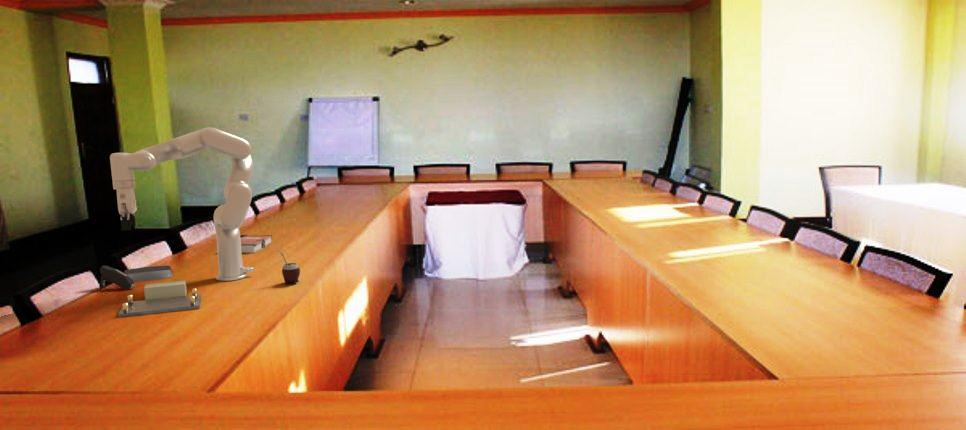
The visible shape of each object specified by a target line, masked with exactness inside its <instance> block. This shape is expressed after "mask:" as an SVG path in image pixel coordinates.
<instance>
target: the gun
mask: <svg viewBox="0 0 966 430" xmlns="http://www.w3.org/2000/svg"><path fill="white" fill-rule="evenodd" d="M99 273H100V274H101V275H100V280H99V281H100V283H99V284H100V287H101V288H102V289H105V288H106V282H108V283H110V284H112V283H113V284H114V285H116V286H117V287H120V288H121V289H123V290H126V291H127V290H132V289H134V288H135V287H136V285H135V282H134V281H133V280H132V279H131V278H130V277H128V276H127V275H126V274H124V272H122V271H121V270H118V269H116V268H114V267H110V266H108V265H101V266H100V269H99Z"/></svg>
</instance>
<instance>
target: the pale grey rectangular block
mask: <svg viewBox="0 0 966 430" xmlns="http://www.w3.org/2000/svg"><path fill="white" fill-rule="evenodd" d="M186 282H187V281H186V280H175V281H166V282H156V283H154V282H153V283H145V285H144V287H143V291H144V300H153V299H163V298H172V297H182V296H187V283H186Z"/></svg>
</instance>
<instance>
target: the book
mask: <svg viewBox="0 0 966 430" xmlns="http://www.w3.org/2000/svg"><path fill="white" fill-rule="evenodd" d="M240 238H241V253H242V254H255V252H256V253H257V252H259V251H260V249H261V250H263V249H265V248H266V247H268V246H269V245H270V244H269V243H271V242H272V235H270V234H269V235H263V234H262V235H248V234H240ZM268 244H269V245H268ZM271 244H272V243H271ZM267 245H268V246H267ZM265 246H266V247H265ZM262 248H263V249H262Z"/></svg>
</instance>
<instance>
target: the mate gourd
mask: <svg viewBox="0 0 966 430" xmlns="http://www.w3.org/2000/svg"><path fill="white" fill-rule="evenodd" d="M275 250H276V251H278V252H279V253H280V254H281V256H282V259H283V260H284V264H283V266H282V269H281V273H282V274H281V275H282V277H283V279H284V285H291V284H292V285H295V286H296V285H297V283H299V277H300V275H301V270H300V266H299V265H298V263H296V262H287V259H286V257H285V254H284V253H283V252H282V251H281V250H280V249H278V248H275Z"/></svg>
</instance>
